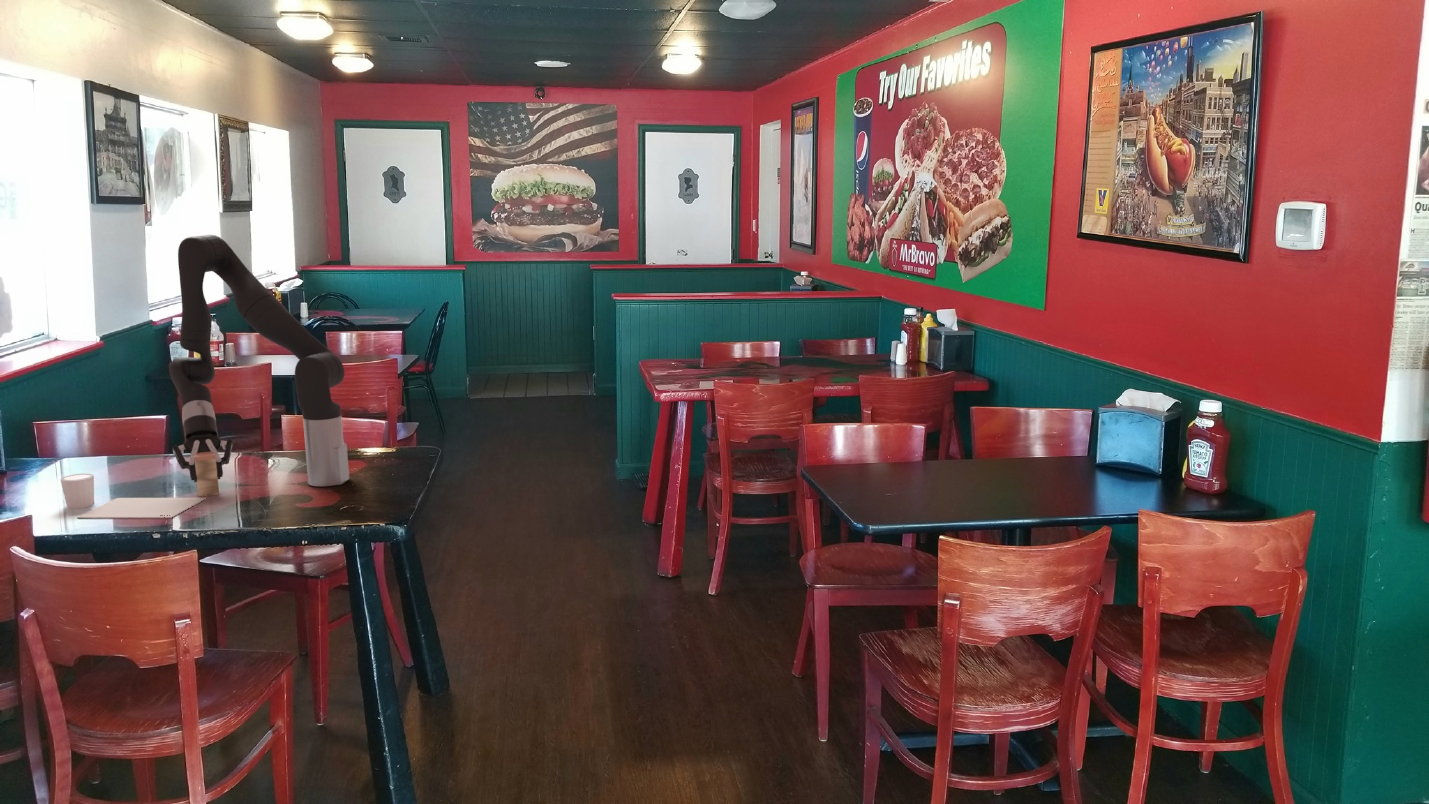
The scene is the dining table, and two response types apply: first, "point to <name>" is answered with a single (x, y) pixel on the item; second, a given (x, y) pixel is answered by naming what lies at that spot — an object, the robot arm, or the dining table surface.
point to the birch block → (206, 474)
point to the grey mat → (142, 508)
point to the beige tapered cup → (78, 490)
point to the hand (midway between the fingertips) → (207, 478)
